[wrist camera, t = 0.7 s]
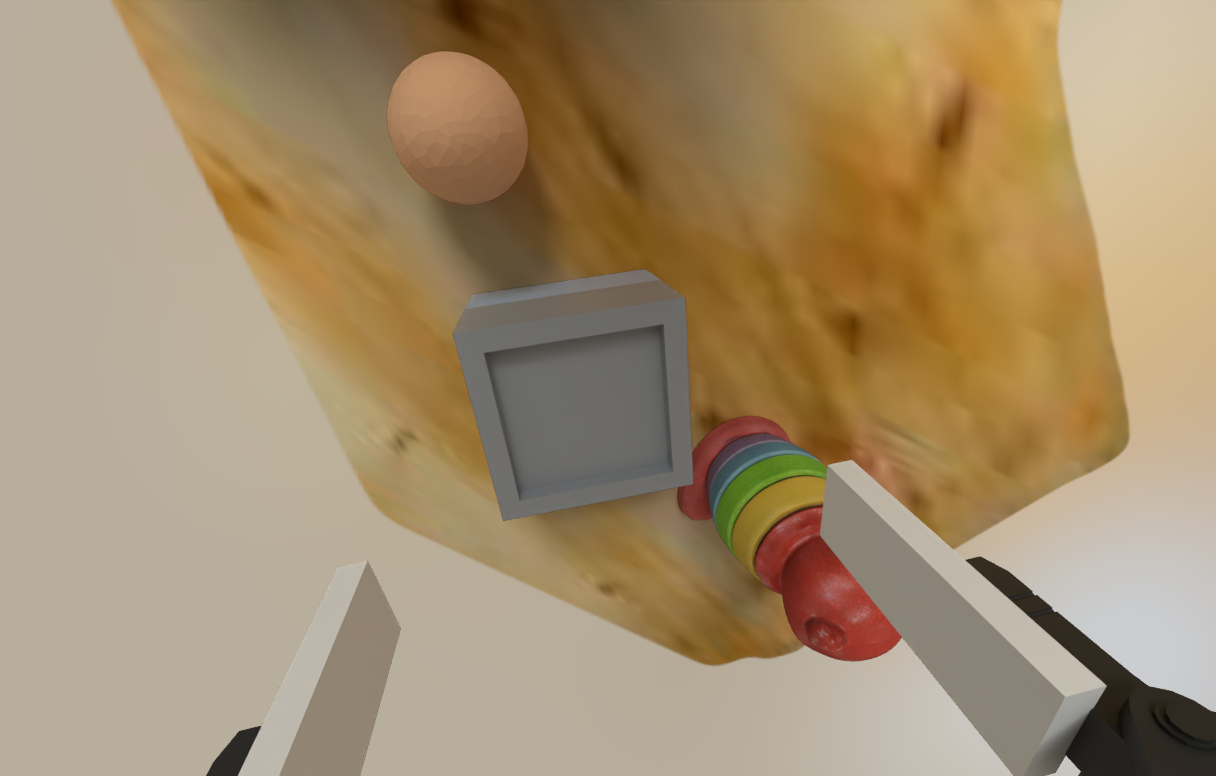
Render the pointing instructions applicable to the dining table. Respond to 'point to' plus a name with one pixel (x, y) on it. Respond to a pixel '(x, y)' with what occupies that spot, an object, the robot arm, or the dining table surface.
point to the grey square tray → (579, 390)
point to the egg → (457, 127)
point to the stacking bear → (784, 534)
